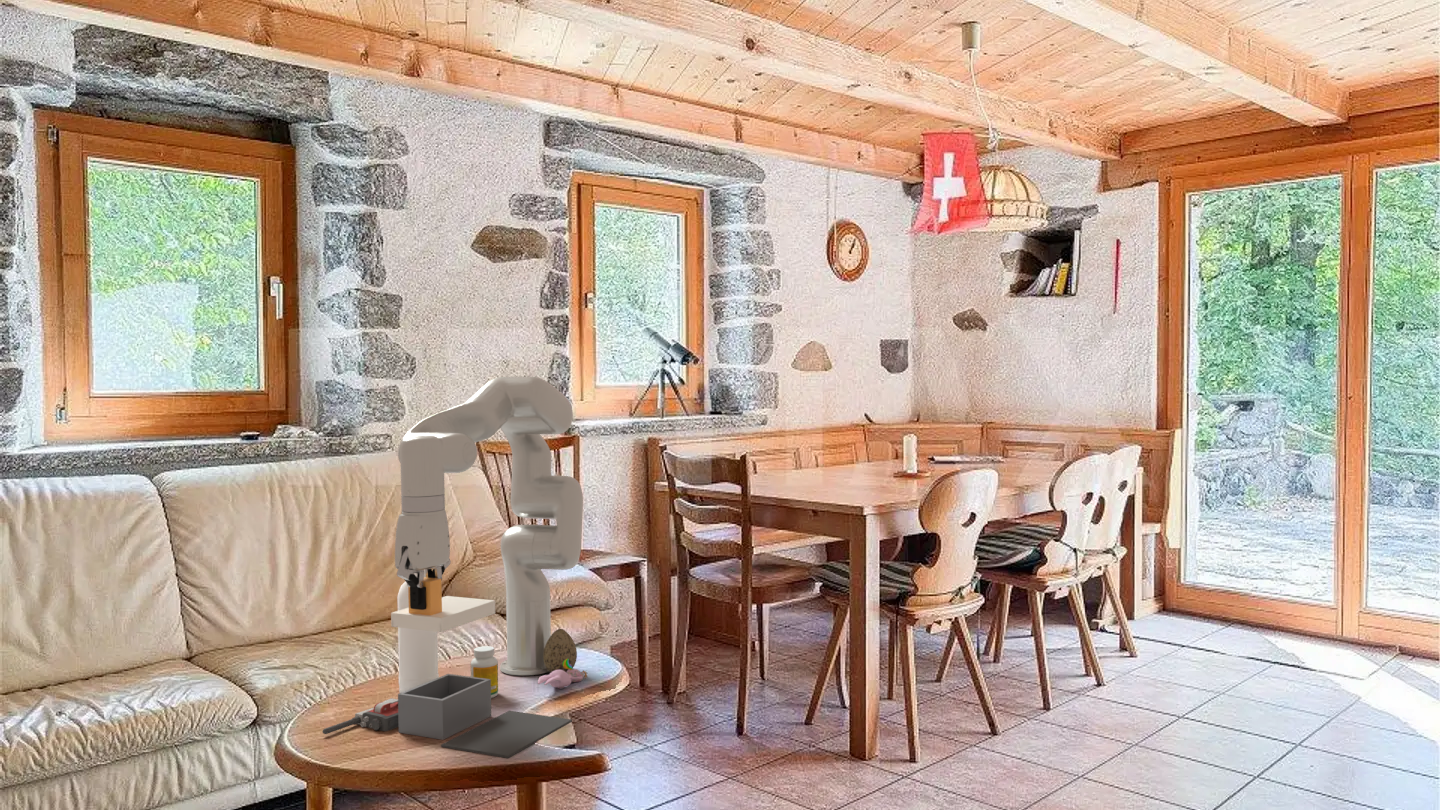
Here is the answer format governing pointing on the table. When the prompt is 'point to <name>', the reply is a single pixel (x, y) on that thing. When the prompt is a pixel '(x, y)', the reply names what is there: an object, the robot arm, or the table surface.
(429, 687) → the tub
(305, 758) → the table surface
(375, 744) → the table surface
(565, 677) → the rabbit figure
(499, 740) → the mat
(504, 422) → the robot arm
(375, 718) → the walkie-talkie
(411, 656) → the bottle
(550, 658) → the decorative egg
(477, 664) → the supplement bottle
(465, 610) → the lid
